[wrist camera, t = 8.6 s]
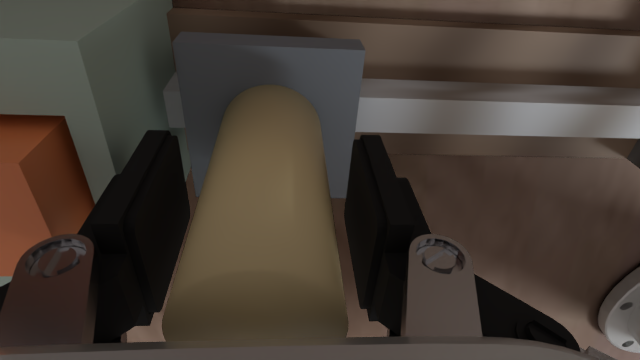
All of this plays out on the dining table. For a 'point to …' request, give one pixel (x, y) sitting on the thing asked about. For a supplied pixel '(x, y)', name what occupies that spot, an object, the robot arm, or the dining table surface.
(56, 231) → the button
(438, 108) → the rail base
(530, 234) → the dining table surface
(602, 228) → the dining table surface
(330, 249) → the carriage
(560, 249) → the dining table surface
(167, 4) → the green button housing
